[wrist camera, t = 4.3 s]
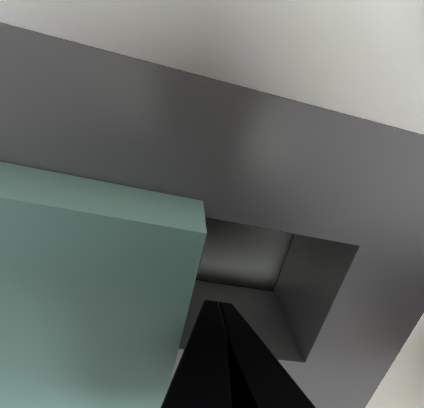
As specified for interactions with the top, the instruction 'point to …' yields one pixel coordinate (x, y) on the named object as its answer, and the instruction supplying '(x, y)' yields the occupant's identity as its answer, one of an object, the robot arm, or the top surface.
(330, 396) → the socket
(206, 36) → the top surface
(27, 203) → the teal rectangular block
